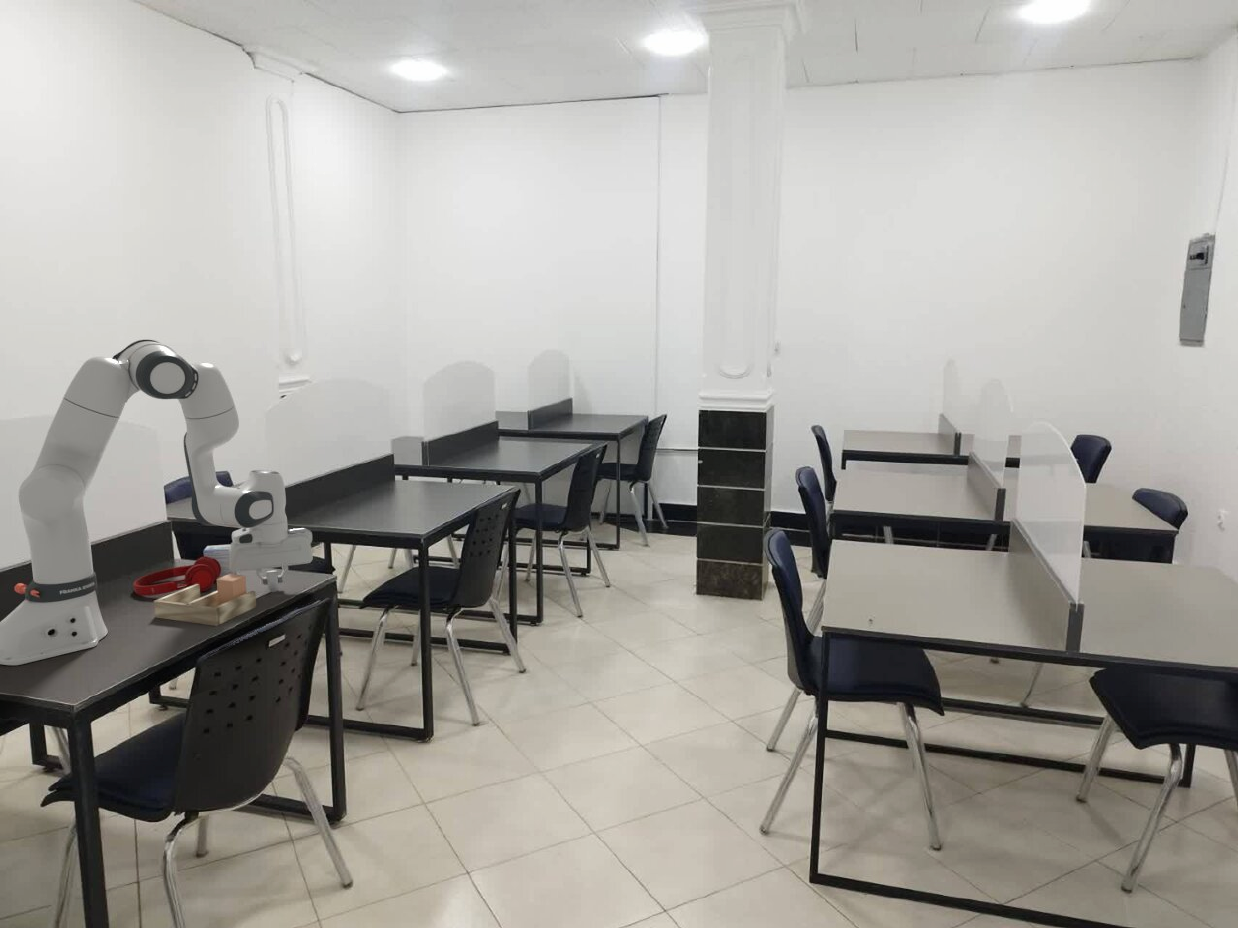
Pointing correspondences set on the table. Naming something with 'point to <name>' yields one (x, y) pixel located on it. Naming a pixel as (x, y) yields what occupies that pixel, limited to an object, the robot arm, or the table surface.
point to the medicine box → (220, 558)
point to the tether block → (242, 586)
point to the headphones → (198, 573)
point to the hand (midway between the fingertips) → (272, 583)
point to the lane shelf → (202, 606)
